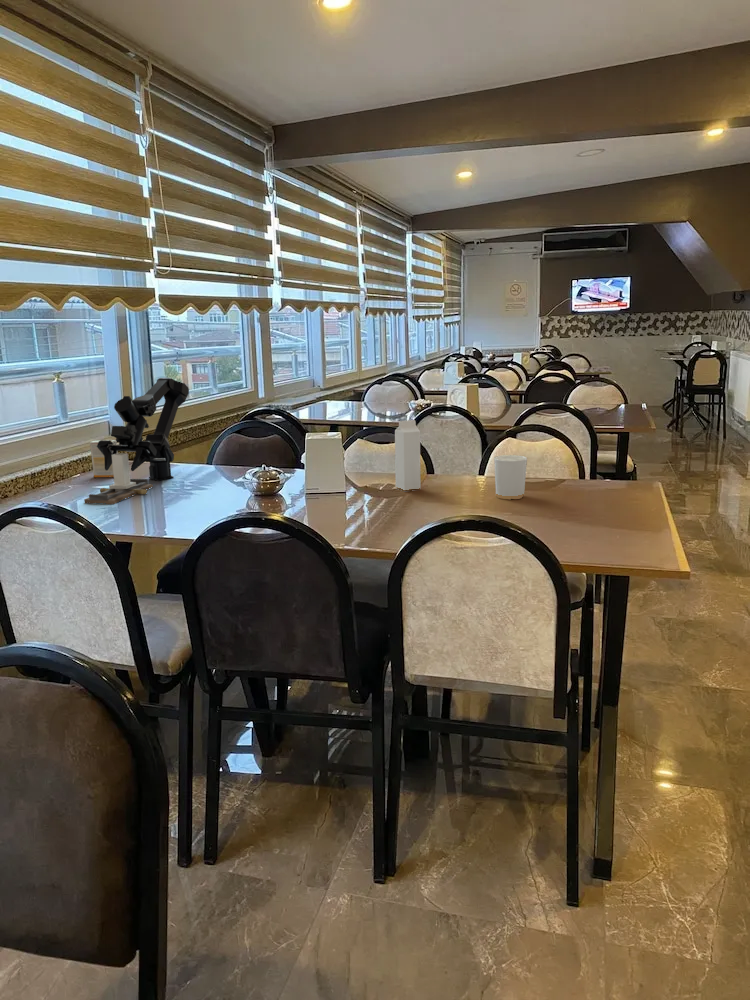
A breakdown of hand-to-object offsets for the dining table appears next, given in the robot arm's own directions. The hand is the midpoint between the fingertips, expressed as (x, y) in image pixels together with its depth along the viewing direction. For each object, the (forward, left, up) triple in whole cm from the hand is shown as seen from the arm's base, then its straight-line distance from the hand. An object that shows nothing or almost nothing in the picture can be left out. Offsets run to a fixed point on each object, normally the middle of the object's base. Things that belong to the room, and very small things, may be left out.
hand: (118, 470), depth 243 cm
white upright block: (-1, -1, -7) cm, 7 cm away
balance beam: (0, 0, -8) cm, 8 cm away
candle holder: (-73, +100, -8) cm, 124 cm away
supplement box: (-13, -33, -8) cm, 37 cm away
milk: (-63, +68, -8) cm, 93 cm away
